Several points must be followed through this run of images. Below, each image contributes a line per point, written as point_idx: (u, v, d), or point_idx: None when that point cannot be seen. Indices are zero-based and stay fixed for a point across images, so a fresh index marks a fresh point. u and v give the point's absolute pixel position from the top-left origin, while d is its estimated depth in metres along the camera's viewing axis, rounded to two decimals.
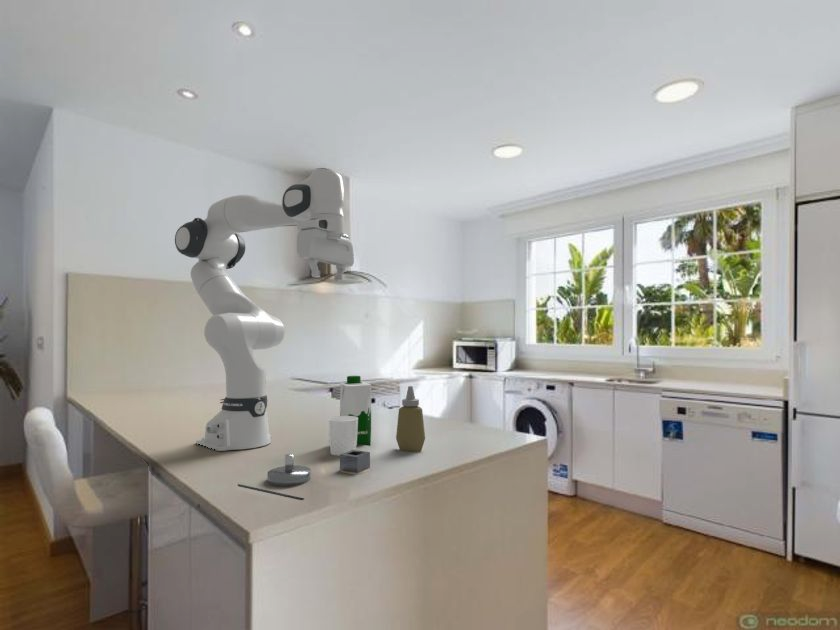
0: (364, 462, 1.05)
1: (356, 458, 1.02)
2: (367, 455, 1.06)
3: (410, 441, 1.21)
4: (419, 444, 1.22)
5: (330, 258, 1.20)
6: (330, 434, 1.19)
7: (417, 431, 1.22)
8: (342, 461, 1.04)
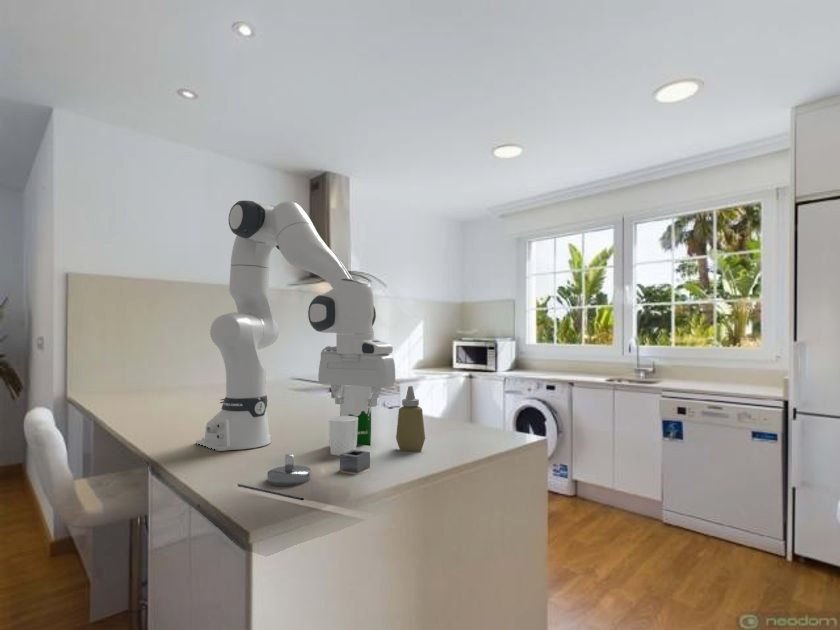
0: (364, 462, 1.05)
1: (356, 458, 1.02)
2: (367, 455, 1.06)
3: (410, 441, 1.21)
4: (419, 444, 1.22)
5: None
6: (330, 434, 1.19)
7: (417, 431, 1.22)
8: (342, 461, 1.04)
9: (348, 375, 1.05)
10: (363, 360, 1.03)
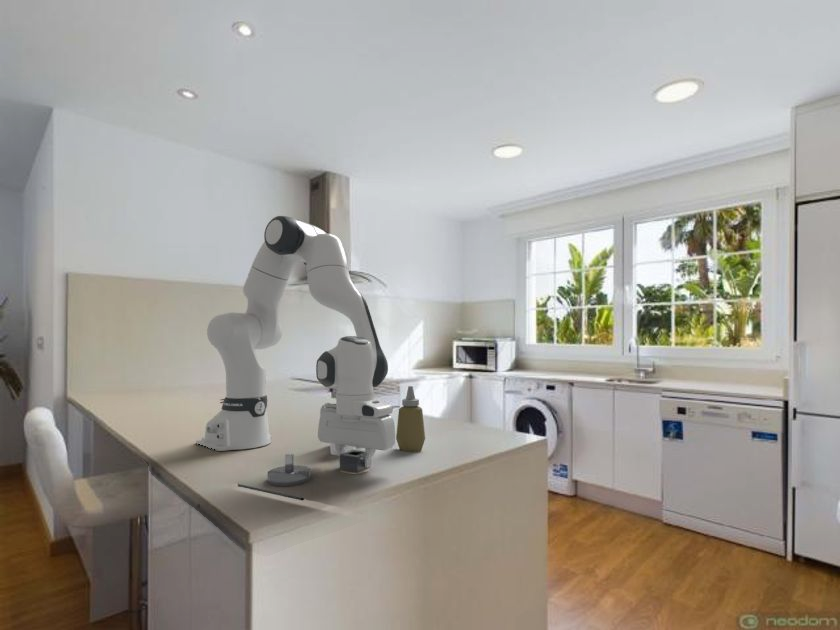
0: None
1: (356, 458, 1.02)
2: None
3: (410, 441, 1.21)
4: (419, 444, 1.22)
5: None
6: None
7: (417, 431, 1.22)
8: (342, 461, 1.04)
9: (347, 435, 1.05)
10: (363, 422, 1.02)
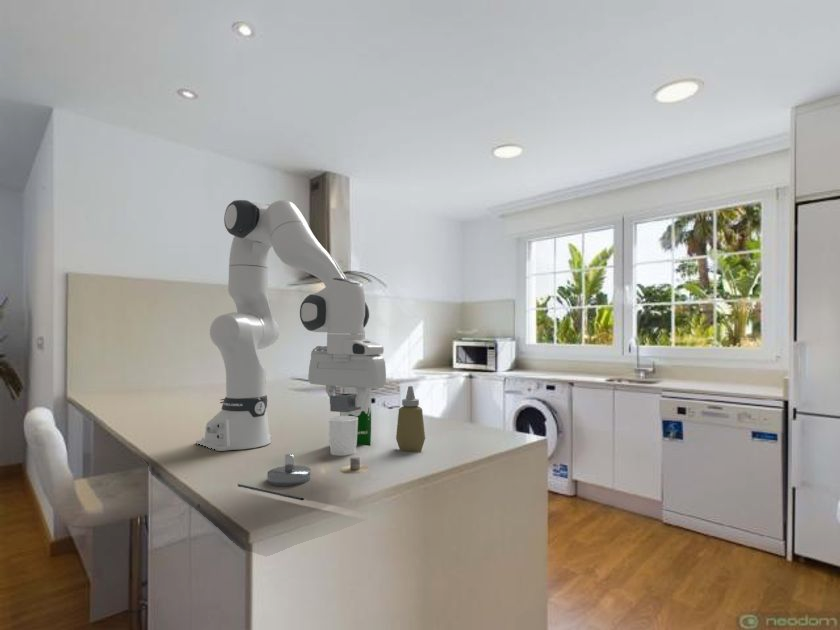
0: None
1: (346, 397, 1.02)
2: None
3: (410, 441, 1.21)
4: (419, 444, 1.22)
5: None
6: (330, 434, 1.19)
7: (417, 431, 1.22)
8: (332, 402, 1.04)
9: (338, 375, 1.04)
10: (353, 361, 1.02)
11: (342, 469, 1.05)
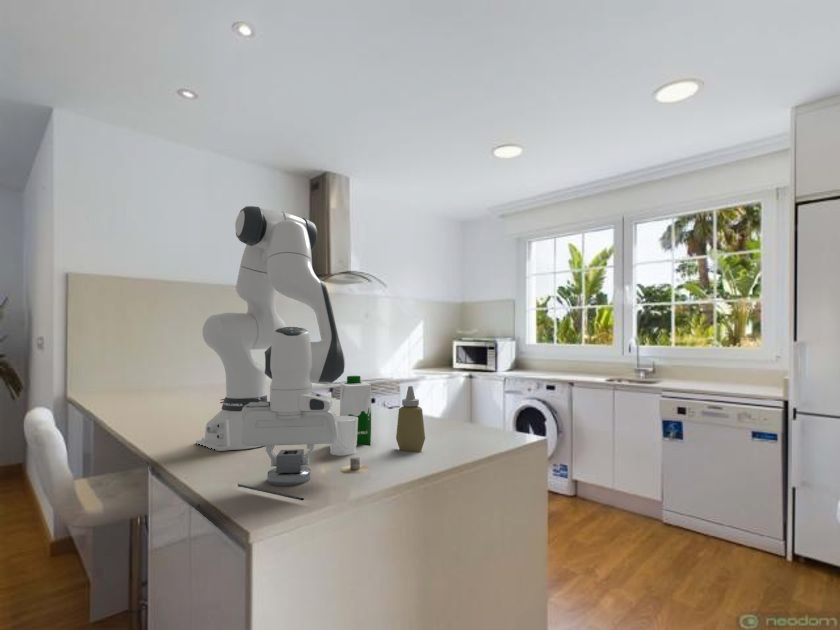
0: None
1: (299, 456, 0.96)
2: (303, 452, 1.00)
3: (410, 441, 1.21)
4: (419, 444, 1.22)
5: None
6: None
7: (417, 431, 1.22)
8: (280, 462, 0.96)
9: (285, 433, 0.97)
10: (307, 417, 0.97)
11: (342, 469, 1.05)
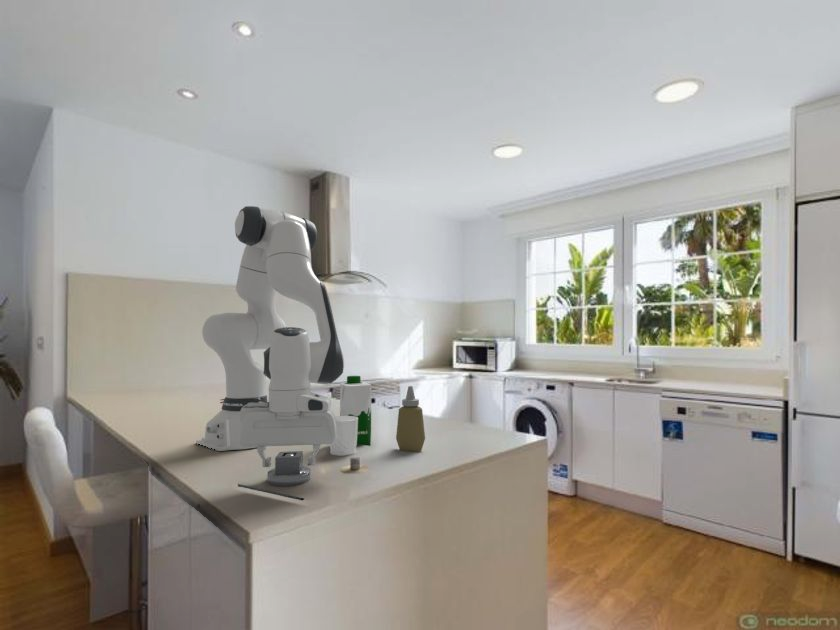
0: (301, 462, 0.99)
1: (298, 458, 0.96)
2: (302, 454, 1.00)
3: (410, 441, 1.21)
4: (419, 444, 1.22)
5: None
6: None
7: (417, 431, 1.22)
8: (279, 464, 0.96)
9: (284, 434, 0.97)
10: (306, 417, 0.97)
11: (342, 469, 1.05)
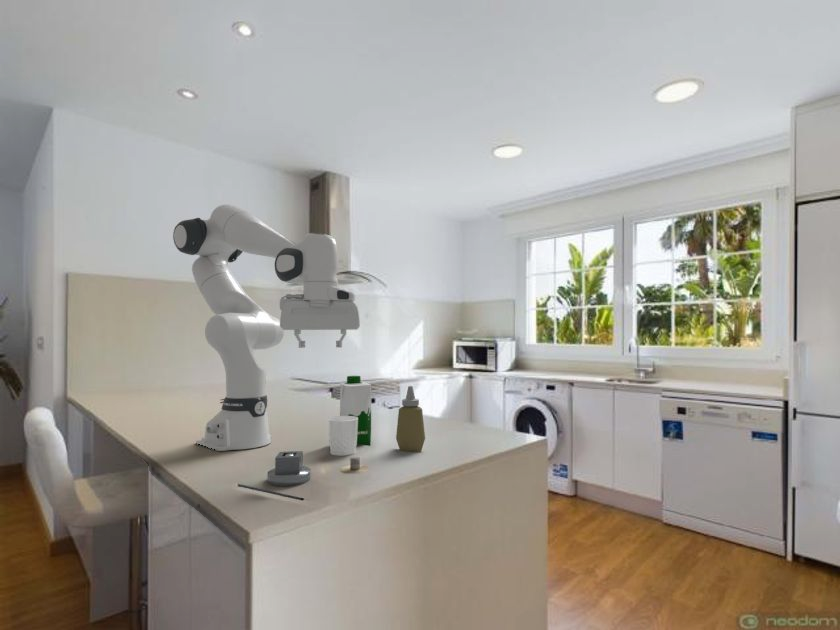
0: (301, 462, 0.99)
1: (298, 458, 0.96)
2: (302, 454, 1.00)
3: (410, 441, 1.21)
4: (419, 444, 1.22)
5: None
6: (330, 434, 1.19)
7: (417, 431, 1.22)
8: (279, 464, 0.96)
9: (317, 319, 1.15)
10: (335, 306, 1.16)
11: (342, 469, 1.05)
